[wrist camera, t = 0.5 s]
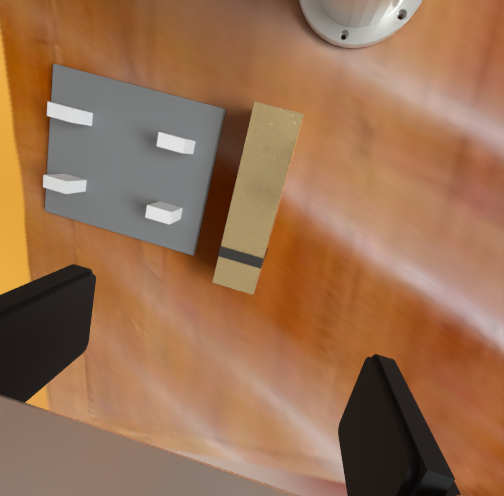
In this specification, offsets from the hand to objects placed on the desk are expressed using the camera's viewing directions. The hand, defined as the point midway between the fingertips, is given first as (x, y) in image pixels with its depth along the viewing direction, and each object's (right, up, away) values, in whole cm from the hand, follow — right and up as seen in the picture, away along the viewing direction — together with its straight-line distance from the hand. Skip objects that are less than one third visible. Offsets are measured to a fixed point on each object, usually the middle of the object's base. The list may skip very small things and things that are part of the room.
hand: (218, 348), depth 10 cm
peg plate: (-14, +14, +29) cm, 35 cm away
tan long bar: (+2, +9, +28) cm, 30 cm away
